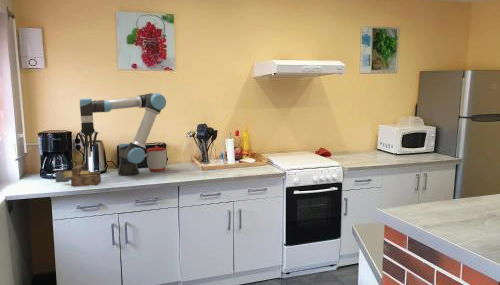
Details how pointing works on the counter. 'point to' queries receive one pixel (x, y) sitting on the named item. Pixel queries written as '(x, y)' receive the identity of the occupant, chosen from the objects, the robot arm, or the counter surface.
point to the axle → (69, 173)
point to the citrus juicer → (156, 158)
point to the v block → (60, 176)
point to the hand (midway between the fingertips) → (89, 156)
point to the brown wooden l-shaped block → (84, 177)
